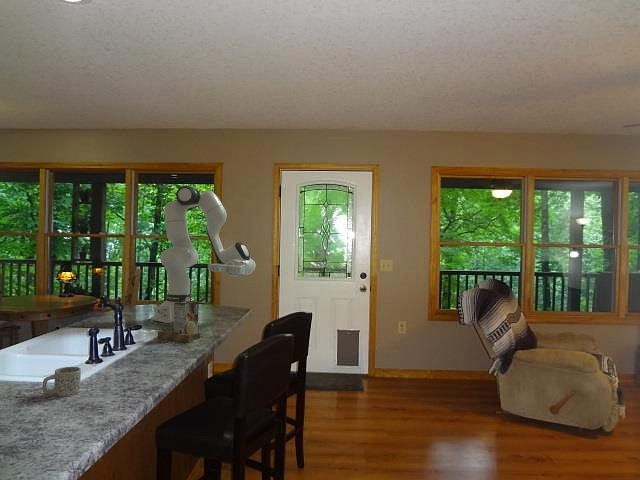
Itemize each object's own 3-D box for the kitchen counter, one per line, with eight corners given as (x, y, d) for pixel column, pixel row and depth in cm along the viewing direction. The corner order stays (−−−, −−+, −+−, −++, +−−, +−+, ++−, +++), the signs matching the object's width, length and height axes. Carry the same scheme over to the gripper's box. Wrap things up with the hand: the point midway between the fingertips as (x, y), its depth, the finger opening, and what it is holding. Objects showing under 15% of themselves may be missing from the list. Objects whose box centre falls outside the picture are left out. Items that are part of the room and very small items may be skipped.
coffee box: (187, 335, 218) (188, 300, 218) (198, 336, 215) (199, 301, 215) (173, 338, 210) (174, 302, 210) (184, 340, 207) (185, 303, 207)
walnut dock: (157, 337, 211) (157, 331, 211) (173, 334, 220) (173, 327, 220) (189, 343, 203) (189, 336, 203) (204, 338, 212) (204, 332, 212)
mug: (74, 387, 142) (74, 365, 142) (84, 392, 138) (84, 369, 138) (37, 395, 134) (38, 372, 134) (47, 401, 130) (47, 377, 130)
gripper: (217, 260, 251) (200, 261, 238) (250, 263, 242) (233, 264, 229) (217, 272, 251) (200, 274, 238) (249, 275, 242) (233, 277, 229)
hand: (216, 269), depth 234 cm, fingers closed
